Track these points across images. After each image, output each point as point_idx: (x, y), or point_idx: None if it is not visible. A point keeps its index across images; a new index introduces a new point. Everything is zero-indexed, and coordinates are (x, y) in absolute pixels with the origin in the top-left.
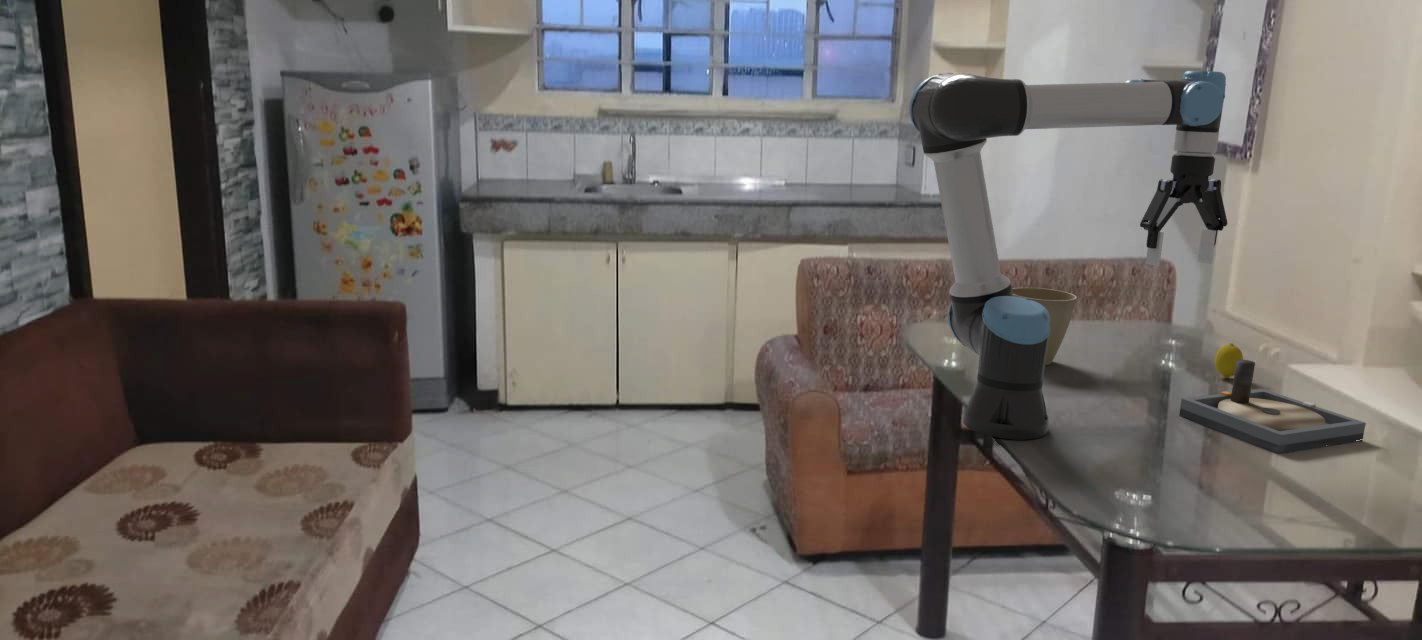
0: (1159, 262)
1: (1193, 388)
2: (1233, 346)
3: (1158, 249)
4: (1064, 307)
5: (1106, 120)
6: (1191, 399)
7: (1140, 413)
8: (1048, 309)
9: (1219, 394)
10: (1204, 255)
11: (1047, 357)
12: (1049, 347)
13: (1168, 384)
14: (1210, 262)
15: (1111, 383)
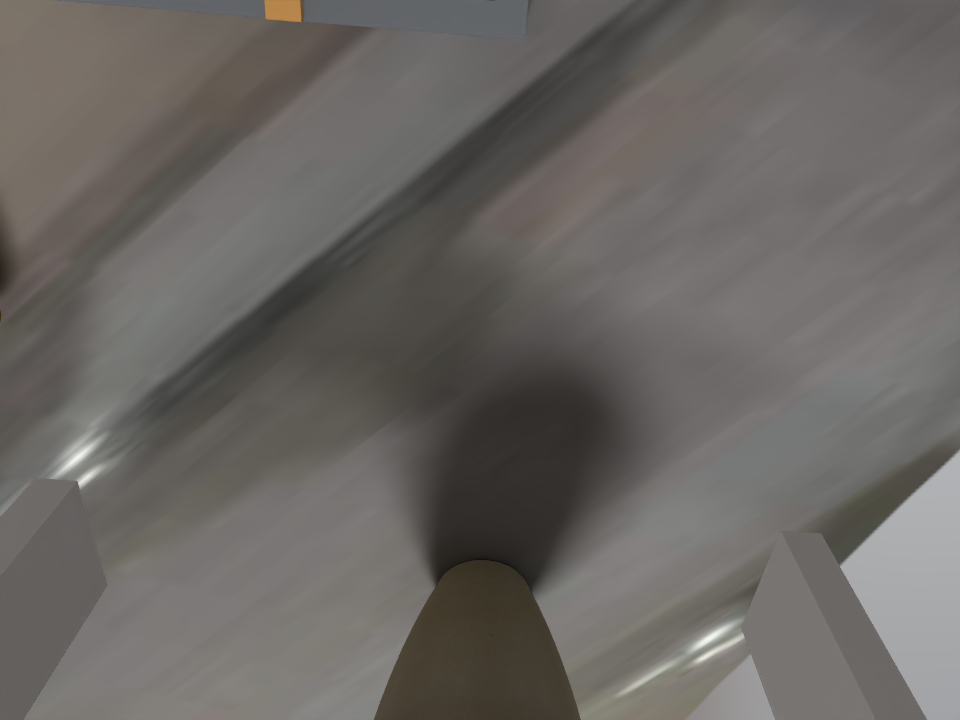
0: (799, 561)
1: (195, 252)
2: None
3: (911, 700)
4: (481, 702)
5: None
6: (497, 10)
7: (635, 114)
8: (541, 708)
9: (313, 15)
10: (51, 589)
11: (490, 573)
12: (497, 594)
13: (252, 314)
14: (44, 486)
15: (437, 386)
